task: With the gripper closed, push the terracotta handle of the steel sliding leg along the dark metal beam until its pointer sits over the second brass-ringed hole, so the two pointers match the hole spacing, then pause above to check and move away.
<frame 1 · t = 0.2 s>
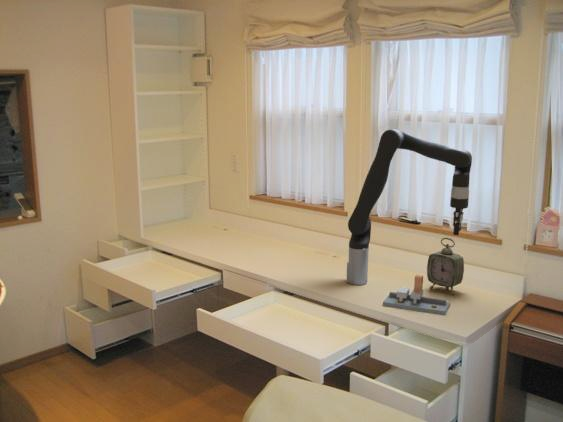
hand: (457, 232, 272), 29 cm above the table, tool pointing down, fingers open, 8 cm apart
tabletop clock: (444, 291, 284), on the table
hole plate with beam: (416, 305, 264), on the table
sliding leg: (417, 289, 263), point 7 cm above the table, slide at 0.0 cm
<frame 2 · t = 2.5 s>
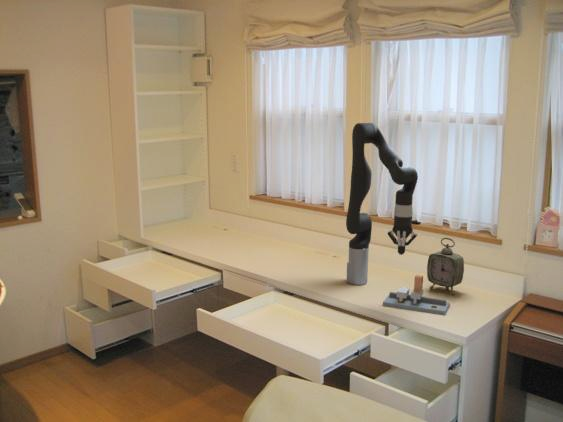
hand: (401, 254, 266), 21 cm above the table, tool pointing down, fingers closed
nothing on the table moved.
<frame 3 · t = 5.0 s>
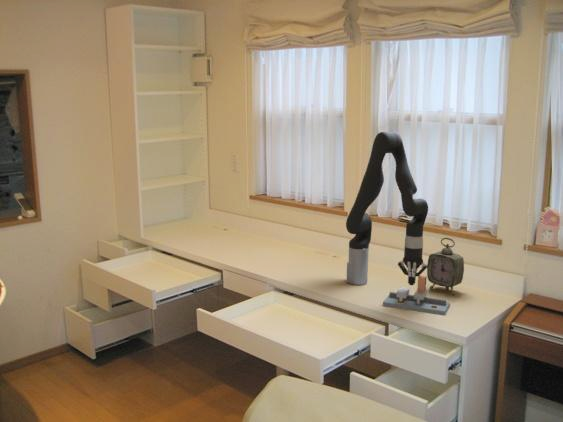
hand: (411, 284, 266), 8 cm above the table, tool pointing down, fingers closed
sliding leg: (420, 289, 263), point 7 cm above the table, slide at 1.4 cm, touching gripper
everything else where it was.
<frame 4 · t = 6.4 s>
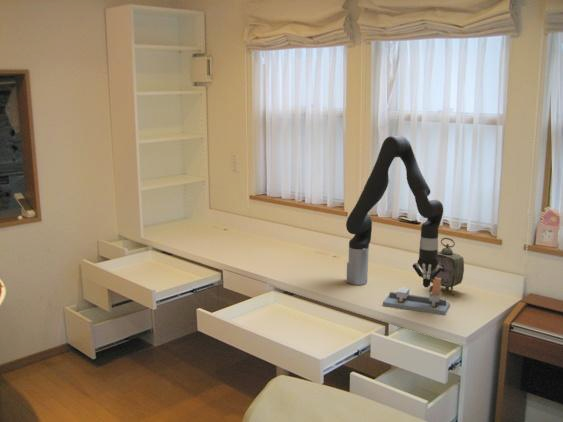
hand: (426, 286, 264), 8 cm above the table, tool pointing down, fingers closed
sliding leg: (435, 291, 260), point 7 cm above the table, slide at 7.7 cm, touching gripper
everything else where it was.
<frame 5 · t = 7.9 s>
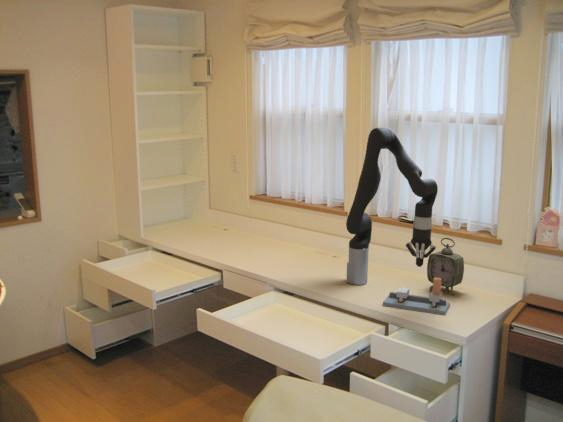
hand: (419, 266, 263), 17 cm above the table, tool pointing down, fingers closed
sliding leg: (435, 291, 260), point 7 cm above the table, slide at 7.8 cm
everything else where it was.
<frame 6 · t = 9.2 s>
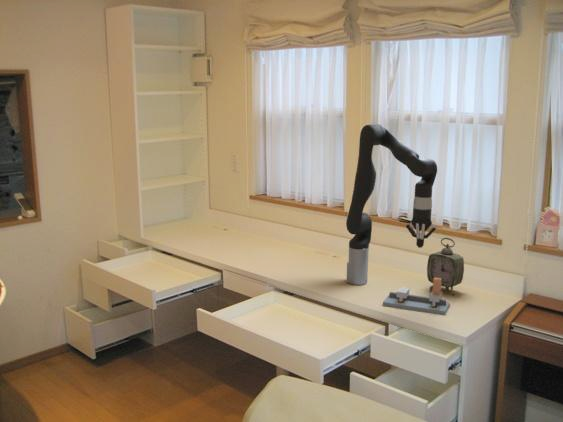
hand: (419, 247, 262), 25 cm above the table, tool pointing down, fingers closed
nothing on the table moved.
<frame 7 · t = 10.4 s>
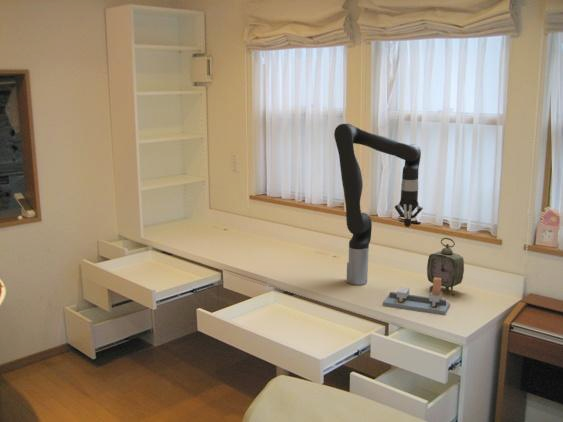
hand: (407, 226, 282), 29 cm above the table, tool pointing down, fingers closed
nothing on the table moved.
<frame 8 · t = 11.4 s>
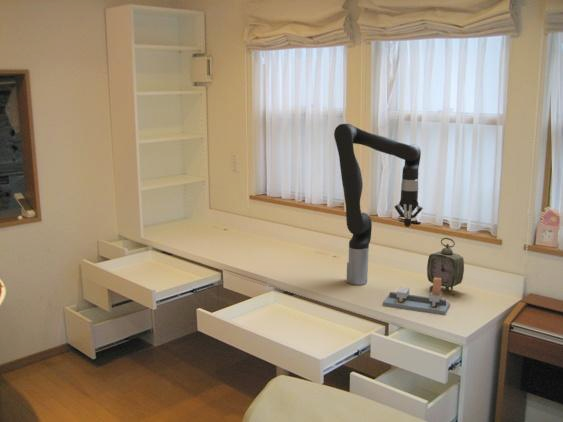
hand: (407, 226, 282), 29 cm above the table, tool pointing down, fingers closed
nothing on the table moved.
at the end: sliding leg slide at 7.8 cm; tabletop clock moved 0.2 cm from its start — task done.
